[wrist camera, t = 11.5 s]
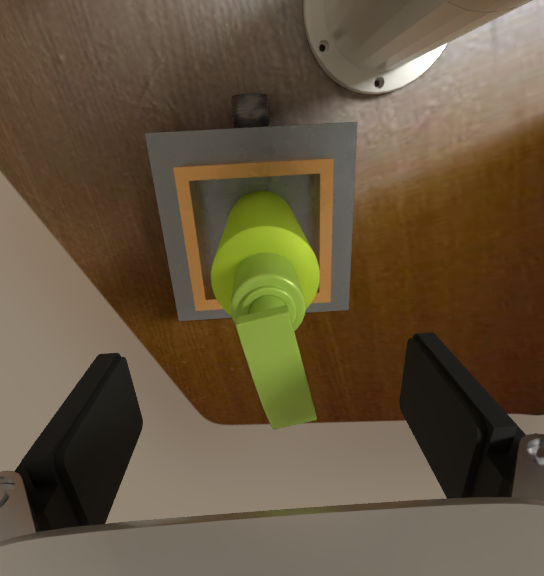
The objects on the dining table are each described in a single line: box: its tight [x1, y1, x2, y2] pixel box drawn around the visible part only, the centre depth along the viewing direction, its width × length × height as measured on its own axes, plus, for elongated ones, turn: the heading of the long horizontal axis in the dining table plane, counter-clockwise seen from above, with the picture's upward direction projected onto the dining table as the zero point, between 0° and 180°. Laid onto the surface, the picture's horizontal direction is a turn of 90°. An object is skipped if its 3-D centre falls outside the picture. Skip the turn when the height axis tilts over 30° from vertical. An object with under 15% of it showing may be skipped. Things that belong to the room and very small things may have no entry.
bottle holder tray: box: [145, 94, 357, 321], centre depth 30 cm, size 19×17×7 cm
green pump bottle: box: [211, 191, 320, 429], centre depth 21 cm, size 6×7×20 cm
